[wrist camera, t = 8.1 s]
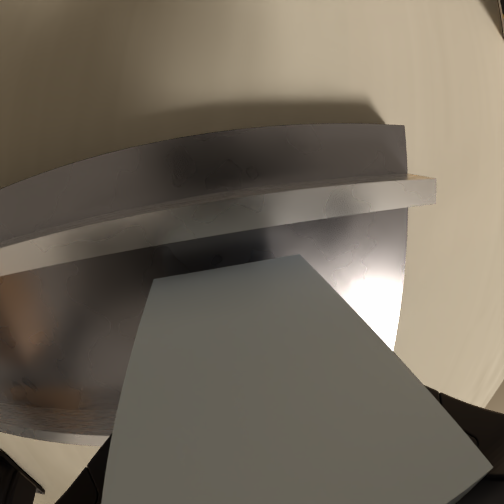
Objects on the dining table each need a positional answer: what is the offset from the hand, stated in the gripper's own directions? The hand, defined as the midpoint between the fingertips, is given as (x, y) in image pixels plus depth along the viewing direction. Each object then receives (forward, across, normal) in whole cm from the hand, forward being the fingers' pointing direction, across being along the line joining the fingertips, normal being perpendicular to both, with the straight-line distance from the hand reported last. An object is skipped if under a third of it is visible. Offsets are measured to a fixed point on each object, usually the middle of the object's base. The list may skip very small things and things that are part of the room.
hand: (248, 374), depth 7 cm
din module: (+2, 0, 0) cm, 2 cm away
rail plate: (+4, +5, 0) cm, 6 cm away
